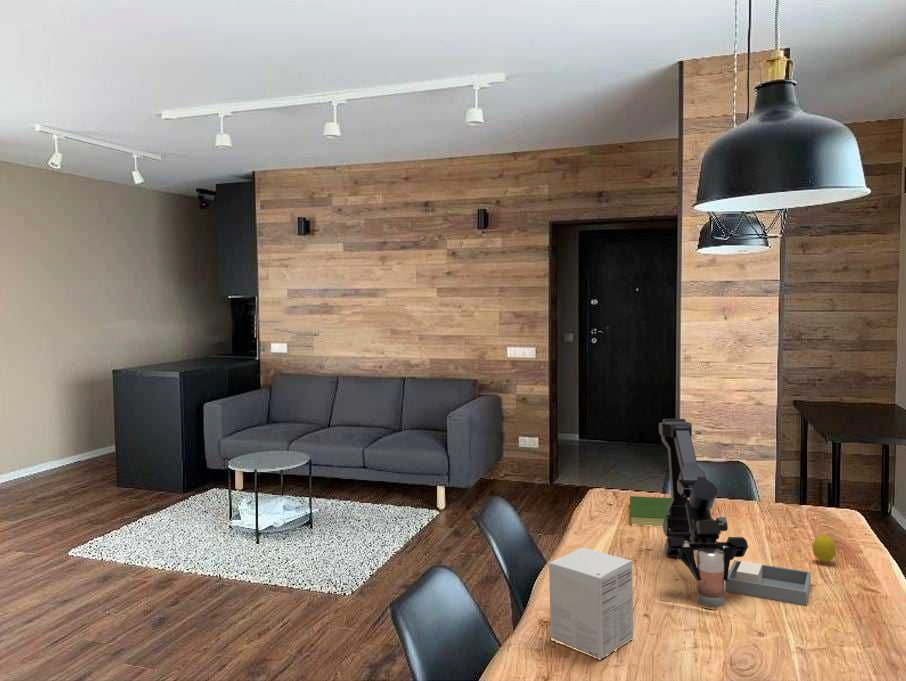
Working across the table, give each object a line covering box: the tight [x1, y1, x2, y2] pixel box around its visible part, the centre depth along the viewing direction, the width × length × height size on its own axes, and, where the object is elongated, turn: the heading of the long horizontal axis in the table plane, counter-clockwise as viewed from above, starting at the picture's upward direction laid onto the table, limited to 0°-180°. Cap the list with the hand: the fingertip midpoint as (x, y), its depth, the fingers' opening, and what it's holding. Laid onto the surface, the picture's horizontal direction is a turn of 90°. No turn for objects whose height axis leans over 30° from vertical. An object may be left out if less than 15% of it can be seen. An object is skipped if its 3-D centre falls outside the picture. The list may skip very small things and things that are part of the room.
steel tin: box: [696, 547, 725, 611], centre depth 167 cm, size 6×6×13 cm
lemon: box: [812, 534, 836, 564], centre depth 192 cm, size 6×6×8 cm
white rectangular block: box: [737, 560, 763, 583], centre depth 177 cm, size 5×8×4 cm, turn 149°
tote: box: [724, 560, 812, 606], centre depth 174 cm, size 18×14×4 cm
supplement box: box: [548, 547, 634, 659], centre depth 151 cm, size 13×13×18 cm
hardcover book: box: [629, 495, 672, 526], centre depth 238 cm, size 25×19×4 cm
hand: (712, 580), depth 165 cm, fingers closed on steel tin, 6 cm apart
